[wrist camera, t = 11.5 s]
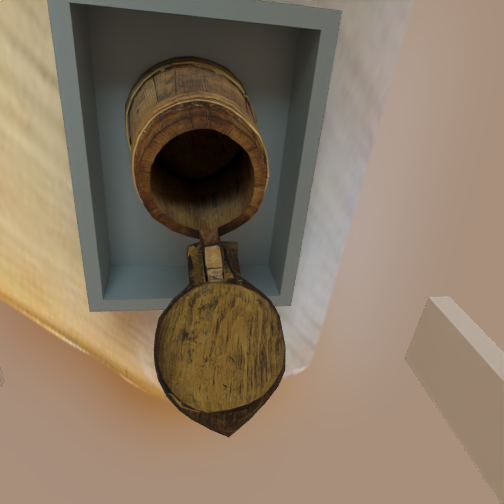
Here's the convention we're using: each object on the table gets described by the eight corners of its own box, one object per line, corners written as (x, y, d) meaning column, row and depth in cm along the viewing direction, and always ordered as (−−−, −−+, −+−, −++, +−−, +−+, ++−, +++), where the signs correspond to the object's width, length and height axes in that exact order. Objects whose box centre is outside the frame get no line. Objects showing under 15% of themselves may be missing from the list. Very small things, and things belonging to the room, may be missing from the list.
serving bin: (70, -16, 23) (43, -26, 19) (312, 12, 26) (342, 10, 22) (101, 270, 33) (89, 311, 28) (275, 268, 36) (290, 305, 31)
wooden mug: (146, 246, 32) (120, 458, 16) (113, 58, 25) (13, 117, 9) (256, 236, 33) (328, 424, 17) (254, 53, 26) (368, 99, 11)
